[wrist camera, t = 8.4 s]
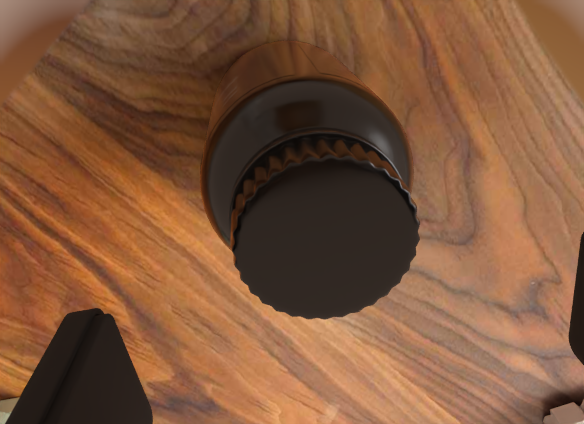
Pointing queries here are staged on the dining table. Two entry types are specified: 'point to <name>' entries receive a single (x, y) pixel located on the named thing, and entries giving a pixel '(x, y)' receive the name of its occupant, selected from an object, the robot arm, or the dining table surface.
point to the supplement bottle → (308, 182)
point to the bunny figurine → (566, 414)
